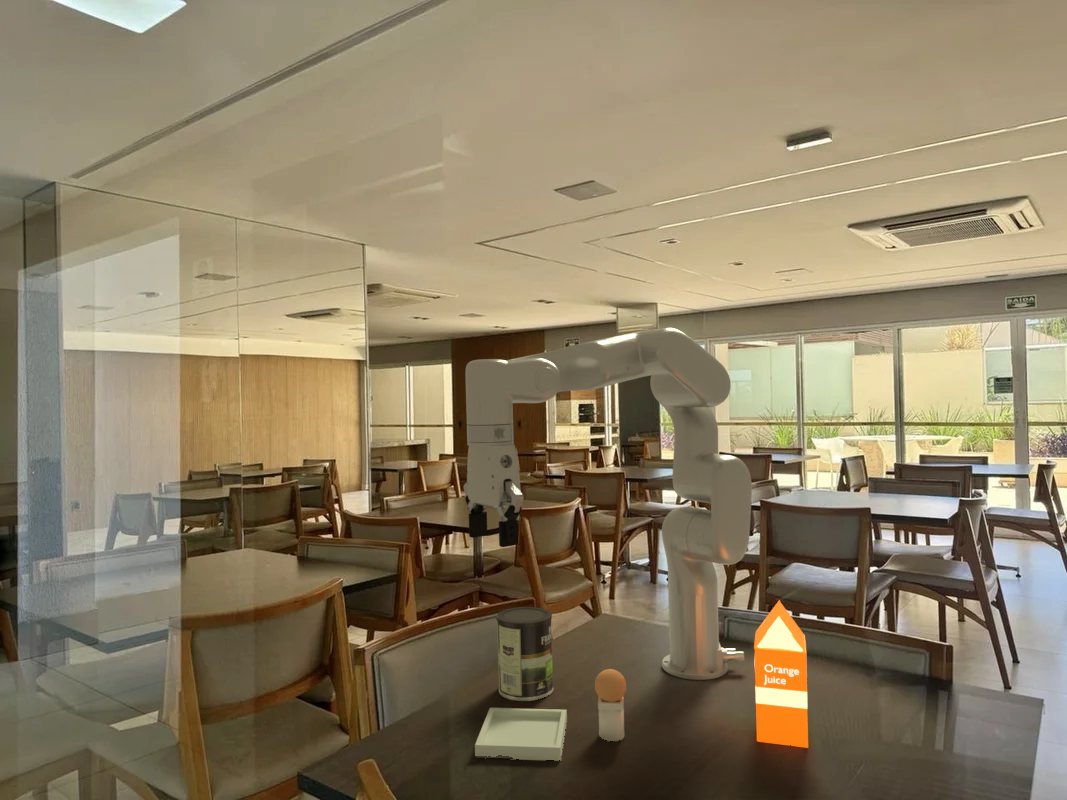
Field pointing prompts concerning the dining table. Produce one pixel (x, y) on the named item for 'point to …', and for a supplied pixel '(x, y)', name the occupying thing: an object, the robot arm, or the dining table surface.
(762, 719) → the orange juice
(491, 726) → the tray
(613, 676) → the ball
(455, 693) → the dining table surface
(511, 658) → the coffee can
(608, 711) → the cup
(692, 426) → the robot arm
